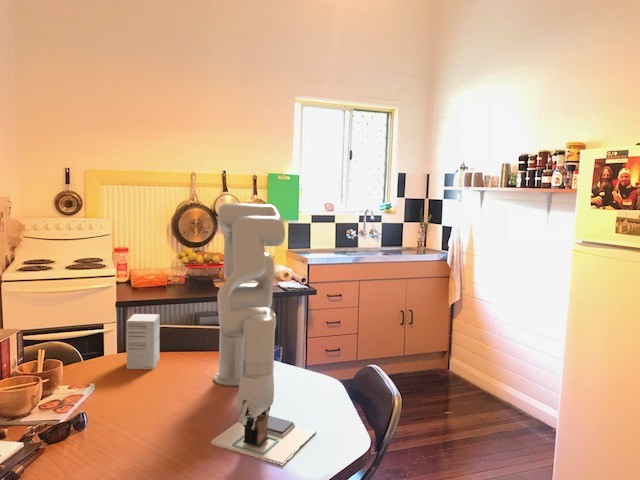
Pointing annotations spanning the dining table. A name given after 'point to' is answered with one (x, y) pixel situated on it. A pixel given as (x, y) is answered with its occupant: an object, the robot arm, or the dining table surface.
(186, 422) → the dining table surface
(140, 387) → the dining table surface
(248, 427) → the robot arm
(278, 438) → the board
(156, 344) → the supplement box
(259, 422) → the stamp
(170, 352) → the dining table surface
